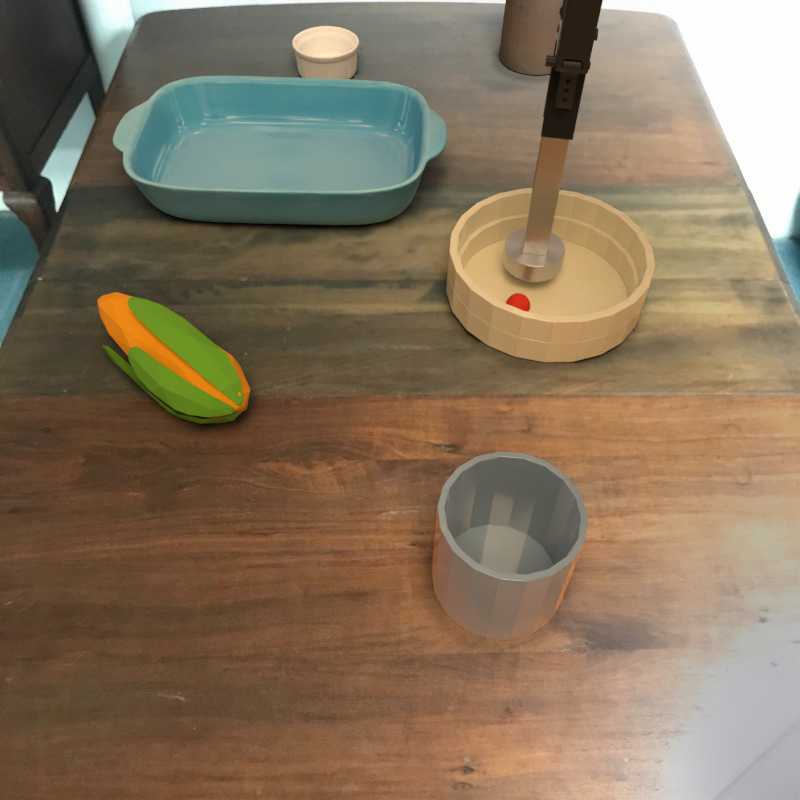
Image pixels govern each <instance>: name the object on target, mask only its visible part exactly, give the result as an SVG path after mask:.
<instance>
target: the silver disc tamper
mask: <svg viewBox="0 0 800 800" xmlns="http://www.w3.org/2000/svg"><path fill="white" fill-rule="evenodd" d="M561 25H562V20H561V21H560V27H559V33H558V39H557V45H556V51H555V55H556V54H557V49H558V43H559V37H560V31H561ZM570 141H571V140H567V139H558V138H549V137H541V136H540V141H539V147H538V153H537V158H536V165H535V171H534V177H533V183H532V187H531V188H532V194H531V200H530V206H529V212H528V218H527V224H526V228H525V229H520V230H518V231H515V232H513V233H512V234H511V235H510V236H509V237H508V238H507V240H506V242H505V248H504V255H503V263H504V266H505V268H506V269H507V271H508V272H509V273H510V274H512V275H513V276H515V277H517V278H519V279H521V280H525V281H530V282H542V281H546V280H549V279H552V278H554V277H555V276H556V275H557V274H558V273H559V272H560V270H561V268H562V264H563V259H564V255H565V246H564V243H563V242H562V240H561V239H560V238H559V237H558V236H556V235H555V234H553V233H551V230H552V225H553V220H554V215H555V210H556V206H557V201H558V196H559V191H560V190H561V185H562V182H563V181H562V180H563V176H564V170H565V165H566V160H567V155H568V149H569V145H570Z"/></svg>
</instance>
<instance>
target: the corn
mask: <svg viewBox="0 0 800 800" xmlns="http://www.w3.org/2000/svg"><path fill="white" fill-rule="evenodd" d="M96 303H97V307H98V313H99V317H100V319H101V321H102V323H103V326H104V327H105V329H106V331H107V334H108V335H109V336H110V337H111V338H112V339H113V341H114V342H115V343H116V344H117V345H118V346H119V348H120V349H121V350H122V351H123V352H124V353H125V355H126V356H127V359H128V361H129V362H127V361H126V360H125V359H124V358H123V357H122V356H121V355H120V354H119V353H117V352H116V351H115V350H114V349H113V348H112V347H110V346H108V345H105V344H100V346H101V348H102V349H103V351H104V352H105V353H106V354H107V356H108V357H109V359H110V360H111V362H113V363H114V365H116V366H117V367H118V368H119V369H120V370H121V371H123V372H124V374H126V375H127V376H128V377H129V378H130V379H131V380H132V381H133V382H135V383H136V384H137V385H138V386H139V387H140V388H141V389H142V390H143V391H144V392H145V393H146V394H148V395H149V396H150V397H151V398H152V399H153V400H154V401H156V402H157V403H158V404H159V405H160V406H161V407H162V408H163V409H165V411H167V413H169V414H171V415H173V416H175V417H177V418H179V419H181V420H184V421H185V420H186V421H189V422H193V423H196V424H199V425H200V424H201V425H202V424H203V425H205V424H206V425H207V424H224V423H230V422H233V421H235V420H236V419H237V418H238V417H239V416H240V415H241V414H242V413H243V412H244V411H246V410H247V409H248V407H249V406H248V405H249V402H250V398H251V390H252V389H251V387H250V385H249V383H248V380H247V378H246V376H245V374H244V372H243V369H242V367H241V364H240V363H239V362H238V361H237V359H236V358H235V357H234V356H233V355H232V354H231V353H229V352H227V350H224V349H223V348H221V347H220V346H219V345H218V344H217V345H216V343H214V342H213V341H212V340H211V339H210V338H209V337H207V336H206V335H205V334H204V333H203V332H201V330H199V329H198V328H197V327H195V325H193V324H191V323H190V322H189V321H188V320H187V319H186V318H184V317H183V316H181V315H180V314H177V313H176V312H174V311H172V310H171V309H169V308H168V307H166V306H164V305H163V304H160V303H158V302H155V301H152V300H149V299H146V298H143V297H137V296H132V295H128V294H125V293H121V292H118V291H114V292H111V293H107V294H102V295H101V296H100V297H99V298H97V302H96Z"/></svg>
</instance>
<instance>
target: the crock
mask: <svg viewBox="0 0 800 800" xmlns="http://www.w3.org/2000/svg"><path fill="white" fill-rule="evenodd" d="M436 507H437V508H436V517H435V518H436V519H435V527H434V528H435V529H434V537H433V538H434V539H433V549H432V550H433V551H432V560H431V579H432V586H433V592H434V595H435V596H436V599H437V601H438V603H439V605H440V606H441V608H442V610H443V612H444V613H445V614H446V615H447V616H448V617H449V618H450V619H451V620H452V621H453V622H454V623H455V624H457V625H458V626H459V627H460V628H461V629H463V630H465V631H467V632H469V633H471V634H473V635H476V636H478V637H481V638H484V639H488V640H489V639H490V640H495V641H512V640H518V639H521V638H524V637H527V636H531V635H533V634H535V633H536V632H537V631H540V630H541V629H542V628H543V627H544V626H545V625H547V624H548V623H550V621H551V620H552V618H553V617H554V616H555V614H556V612H557V611H558V609H559V607H560V606H561V604H562V601H563V599H564V596H565V594H566V591H567V589H568V587H569V584H570V581H571V579H572V576H573V574H574V571H575V568H576V566H577V563H578V561H579V559H580V556H581V553H582V551H583V549H584V545H585V543H586V541H587V540H586V539H587V532H588V524H589V516H588V512H587V509H586V505H585V502H584V497H583V495H582V494H581V493H580V491H579V490H578V488H577V487H576V485H575V484H574V483H573V481H572V479H570V477H569V476H568V475H566V474H565V473H564V472H562V470H560V469H558V468H557V467H556V466H555V465H553V464H552V463H551V462H549V461H548V460H545V459H543V458H539V457H537V456H535V455H531V454H528V453H525V452H515V451H502V450H501V451H500V450H499V451H495V452H490V453H485V454H479V455H478V456H477V455H476V456H474V457H473V458H471V459H470V460H468V461H466V462H465V463H463V464H461V465H459V466H458V467H456V468H455V470H454V471H453V472H452V473H451V475H450V476H449V478H447V480H446V481H445V482H444V484H443V485H442V488H441V491H440V496H439V499H438V503H437V506H436Z"/></svg>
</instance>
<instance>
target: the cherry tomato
mask: <svg viewBox="0 0 800 800" xmlns="http://www.w3.org/2000/svg"><path fill="white" fill-rule="evenodd" d="M506 304H508V305H511V306H513V307H516V308H518V309H521V310H523V311H528V312H529V310H530V301H529V299H528V298H527V297H526V296H525V295H523V294H520V293H516V294H513V295H511V296H510V297H509V298H508V299H507V301H506Z"/></svg>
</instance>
